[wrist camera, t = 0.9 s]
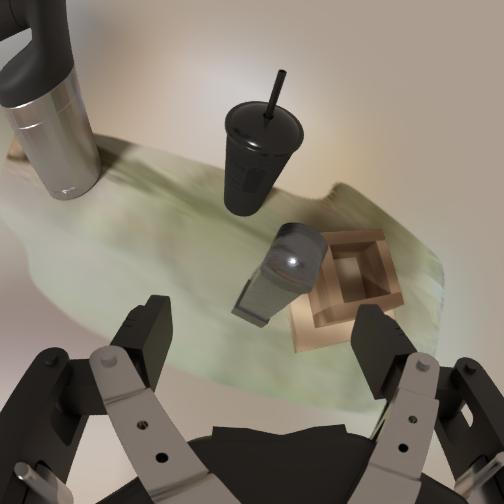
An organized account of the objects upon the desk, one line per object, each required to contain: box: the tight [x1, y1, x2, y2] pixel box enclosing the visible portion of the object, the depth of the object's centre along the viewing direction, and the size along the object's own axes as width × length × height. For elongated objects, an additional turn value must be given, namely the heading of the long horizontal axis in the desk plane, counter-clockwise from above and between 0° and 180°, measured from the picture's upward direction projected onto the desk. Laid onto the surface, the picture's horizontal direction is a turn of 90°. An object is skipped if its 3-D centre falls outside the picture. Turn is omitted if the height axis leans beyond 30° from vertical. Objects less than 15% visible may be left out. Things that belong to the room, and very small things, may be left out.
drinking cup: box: [224, 70, 304, 216], centre depth 29 cm, size 8×8×20 cm
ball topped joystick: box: [231, 223, 328, 328], centre depth 25 cm, size 4×3×17 cm
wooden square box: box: [273, 229, 404, 353], centre depth 33 cm, size 14×14×6 cm
